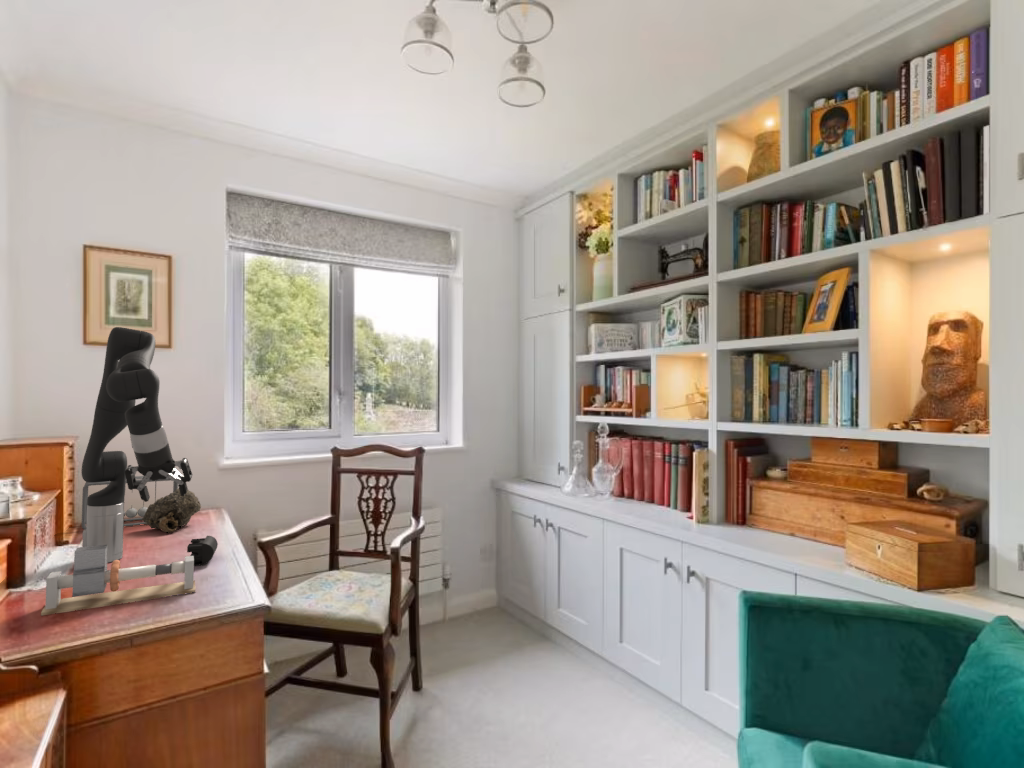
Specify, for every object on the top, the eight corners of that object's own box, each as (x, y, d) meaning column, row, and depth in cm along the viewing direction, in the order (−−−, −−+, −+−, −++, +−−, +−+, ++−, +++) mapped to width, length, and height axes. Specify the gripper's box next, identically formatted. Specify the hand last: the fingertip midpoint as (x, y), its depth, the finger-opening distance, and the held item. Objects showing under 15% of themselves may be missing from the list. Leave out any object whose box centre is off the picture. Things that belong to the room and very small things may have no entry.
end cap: (213, 565, 165) (214, 542, 165) (186, 567, 163) (187, 544, 163) (217, 555, 174) (218, 534, 175) (191, 558, 172) (192, 536, 172)
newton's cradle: (81, 531, 200) (82, 483, 200) (83, 525, 208) (84, 479, 209) (177, 522, 217) (178, 477, 217) (175, 516, 225) (176, 473, 226)
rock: (178, 480, 215) (182, 478, 203) (206, 505, 219) (211, 505, 207) (135, 516, 205) (136, 516, 193) (165, 541, 209) (168, 544, 197)
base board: (41, 615, 127) (41, 612, 127) (48, 603, 133) (48, 600, 133) (195, 592, 143) (195, 589, 143) (194, 583, 149) (194, 580, 149)
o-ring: (109, 595, 133) (110, 565, 134) (112, 585, 140) (113, 557, 140) (117, 594, 134) (118, 564, 134) (120, 584, 140) (121, 556, 141)
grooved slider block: (72, 597, 130) (73, 552, 130) (76, 589, 135) (77, 546, 136) (103, 592, 133) (104, 549, 134) (106, 585, 139) (107, 543, 139)
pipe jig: (45, 612, 128) (46, 578, 128) (49, 605, 132) (50, 572, 133) (193, 591, 144) (193, 560, 144) (192, 585, 148) (193, 555, 148)
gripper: (185, 433, 144) (198, 485, 150) (122, 440, 140) (138, 493, 146) (179, 447, 137) (192, 500, 144) (113, 455, 133) (130, 510, 140)
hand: (165, 497), depth 145 cm, fingers open, 8 cm apart
